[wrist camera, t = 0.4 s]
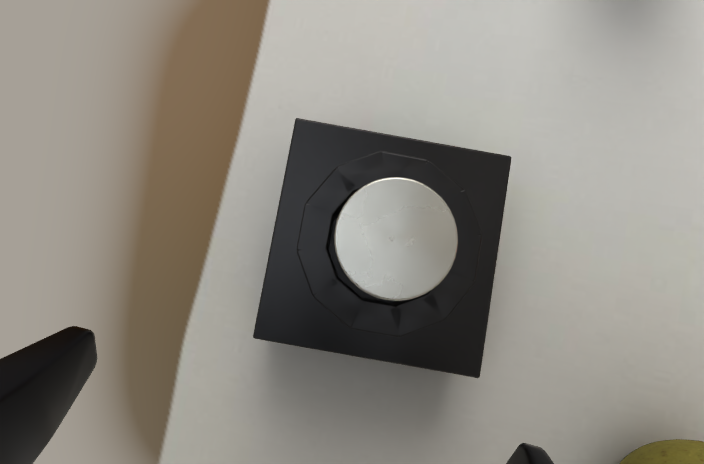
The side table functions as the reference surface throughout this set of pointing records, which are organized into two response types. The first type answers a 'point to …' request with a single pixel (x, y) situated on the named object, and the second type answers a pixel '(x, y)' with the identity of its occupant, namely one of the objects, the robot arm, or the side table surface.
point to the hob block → (336, 288)
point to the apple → (668, 453)
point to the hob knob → (396, 239)
